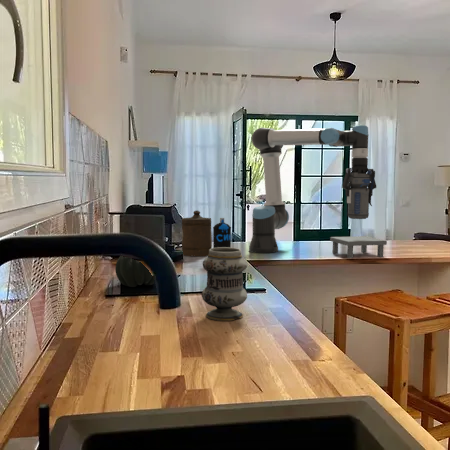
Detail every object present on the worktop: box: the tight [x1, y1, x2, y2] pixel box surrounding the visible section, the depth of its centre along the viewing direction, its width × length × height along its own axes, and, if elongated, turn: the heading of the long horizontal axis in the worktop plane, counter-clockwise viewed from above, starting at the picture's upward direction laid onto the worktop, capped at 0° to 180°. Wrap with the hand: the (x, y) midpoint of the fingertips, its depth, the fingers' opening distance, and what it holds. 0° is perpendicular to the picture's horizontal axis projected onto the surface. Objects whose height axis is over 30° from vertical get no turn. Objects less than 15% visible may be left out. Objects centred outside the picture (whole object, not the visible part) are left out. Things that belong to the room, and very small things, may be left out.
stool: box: [329, 235, 388, 259], centre depth 240 cm, size 20×20×8 cm
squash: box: [114, 255, 155, 288], centre depth 168 cm, size 14×15×15 cm
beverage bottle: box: [347, 167, 376, 220], centre depth 238 cm, size 10×13×25 cm
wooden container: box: [181, 210, 213, 257], centre depth 240 cm, size 15×15×22 cm
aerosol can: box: [212, 217, 232, 248], centre depth 215 cm, size 8×8×20 cm
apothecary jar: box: [201, 247, 248, 322], centre depth 128 cm, size 12×12×18 cm
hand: (358, 203), depth 238 cm, fingers closed on beverage bottle, 10 cm apart
